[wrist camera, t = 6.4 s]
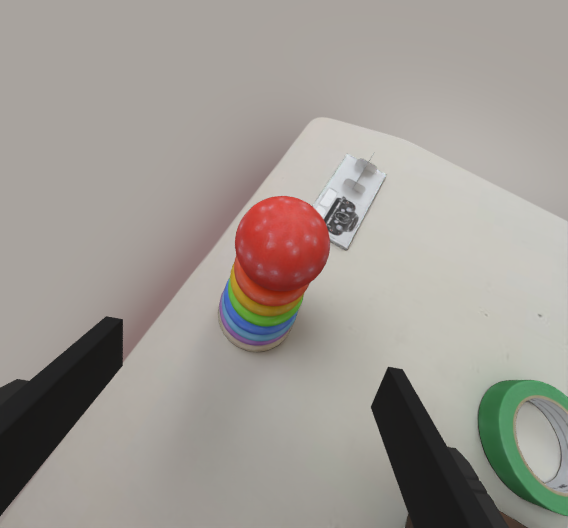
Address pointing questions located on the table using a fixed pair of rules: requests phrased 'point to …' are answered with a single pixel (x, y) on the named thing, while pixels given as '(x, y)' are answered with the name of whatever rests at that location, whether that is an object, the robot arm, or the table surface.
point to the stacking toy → (272, 271)
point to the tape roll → (504, 445)
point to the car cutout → (348, 198)
